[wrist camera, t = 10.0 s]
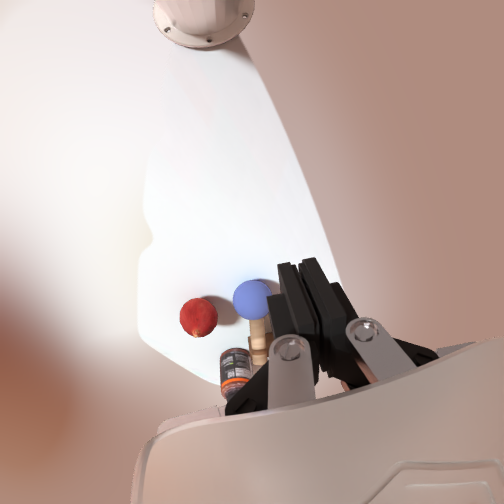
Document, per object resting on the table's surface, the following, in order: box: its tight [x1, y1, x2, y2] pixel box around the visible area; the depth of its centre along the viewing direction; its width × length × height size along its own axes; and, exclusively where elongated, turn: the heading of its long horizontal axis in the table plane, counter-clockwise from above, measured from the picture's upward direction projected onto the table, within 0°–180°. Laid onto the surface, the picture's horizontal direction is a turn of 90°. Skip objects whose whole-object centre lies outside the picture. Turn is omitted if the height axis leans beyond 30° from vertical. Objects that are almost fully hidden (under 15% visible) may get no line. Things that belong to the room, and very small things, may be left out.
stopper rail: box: [248, 332, 274, 360], centre depth 49 cm, size 2×9×4 cm, turn 99°
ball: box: [233, 280, 272, 320], centre depth 43 cm, size 6×6×6 cm
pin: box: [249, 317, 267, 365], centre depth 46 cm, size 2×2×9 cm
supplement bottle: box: [220, 348, 253, 403], centre depth 48 cm, size 6×6×11 cm
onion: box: [180, 298, 218, 338], centre depth 43 cm, size 6×6×8 cm
